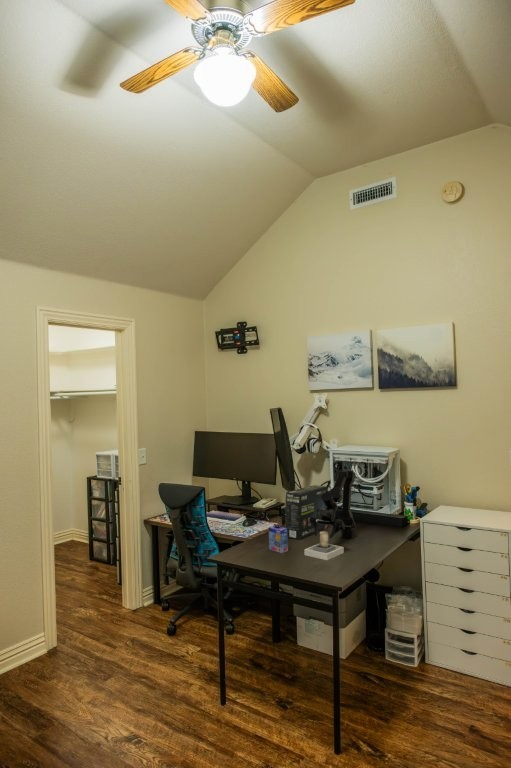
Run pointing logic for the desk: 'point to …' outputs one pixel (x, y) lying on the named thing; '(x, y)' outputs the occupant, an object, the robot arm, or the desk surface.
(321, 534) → the beige domed cylinder
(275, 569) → the desk surface
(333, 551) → the housing
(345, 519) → the robot arm
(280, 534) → the ink cartridge box
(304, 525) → the router box
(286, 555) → the desk surface
